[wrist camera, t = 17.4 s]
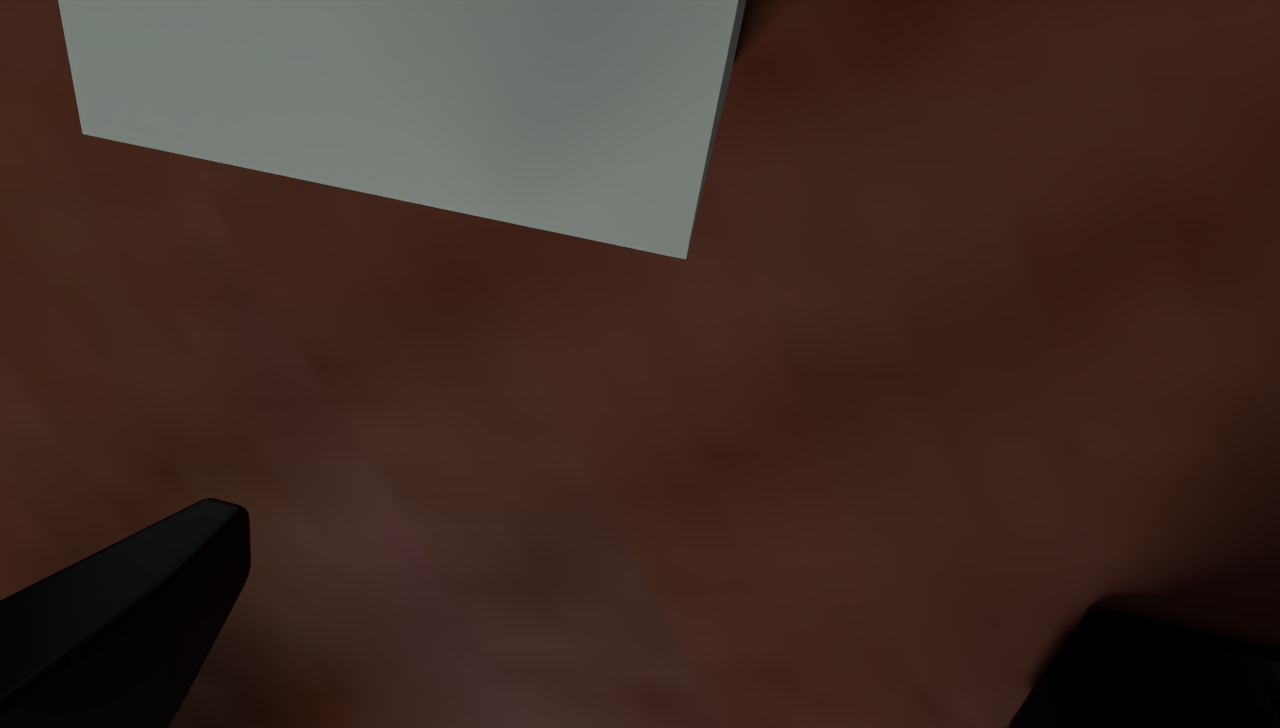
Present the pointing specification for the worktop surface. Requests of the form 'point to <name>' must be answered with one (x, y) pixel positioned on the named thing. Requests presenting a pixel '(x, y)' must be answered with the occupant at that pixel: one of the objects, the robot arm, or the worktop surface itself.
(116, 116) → the pale grey cube
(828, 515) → the worktop surface
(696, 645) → the worktop surface
